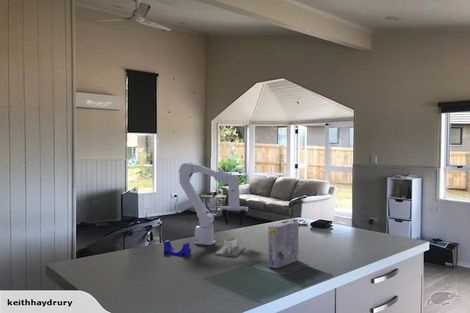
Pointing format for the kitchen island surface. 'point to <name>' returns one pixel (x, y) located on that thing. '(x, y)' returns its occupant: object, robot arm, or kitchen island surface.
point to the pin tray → (235, 253)
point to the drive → (230, 244)
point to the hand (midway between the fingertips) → (234, 224)
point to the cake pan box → (282, 244)
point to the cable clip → (169, 250)
